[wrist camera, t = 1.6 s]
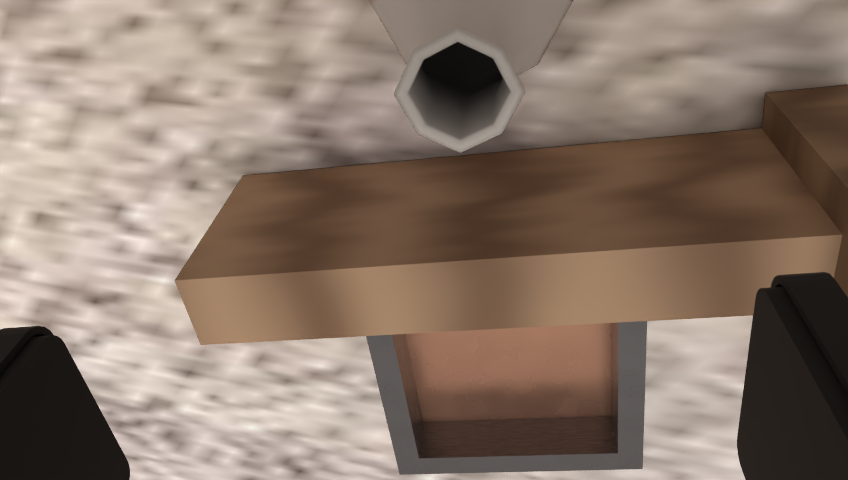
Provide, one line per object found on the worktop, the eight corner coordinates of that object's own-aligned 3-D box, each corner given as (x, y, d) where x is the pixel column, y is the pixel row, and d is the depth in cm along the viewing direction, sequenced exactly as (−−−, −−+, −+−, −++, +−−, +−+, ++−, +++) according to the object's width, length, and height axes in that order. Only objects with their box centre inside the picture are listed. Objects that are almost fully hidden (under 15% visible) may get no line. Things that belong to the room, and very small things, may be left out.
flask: (338, 1, 27) (267, 97, 19) (469, -159, 24) (453, -127, 16) (473, 122, 29) (462, 257, 21) (609, -8, 26) (661, 91, 18)
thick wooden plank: (848, 84, 27) (1053, 261, 17) (824, 218, 30) (985, 433, 20) (233, 145, 31) (106, 319, 21) (268, 258, 34) (173, 456, 24)
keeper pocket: (636, 227, 31) (648, 266, 29) (632, 423, 38) (642, 468, 35) (364, 247, 33) (354, 285, 31) (406, 430, 40) (399, 474, 37)
